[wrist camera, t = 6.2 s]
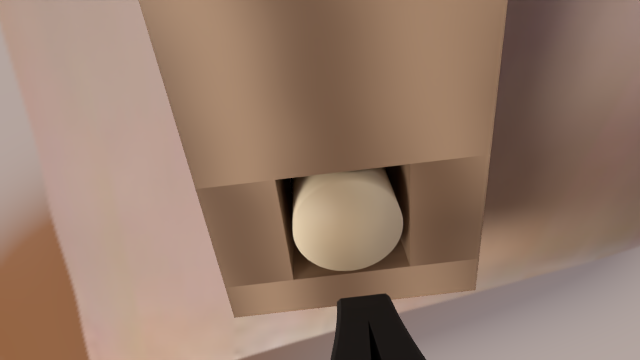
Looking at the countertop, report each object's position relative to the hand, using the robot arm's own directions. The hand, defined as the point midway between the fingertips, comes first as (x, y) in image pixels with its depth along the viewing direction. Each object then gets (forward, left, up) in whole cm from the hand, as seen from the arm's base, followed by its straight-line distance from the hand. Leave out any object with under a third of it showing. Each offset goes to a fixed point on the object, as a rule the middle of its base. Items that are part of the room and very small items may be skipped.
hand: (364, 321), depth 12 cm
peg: (0, 0, -9) cm, 9 cm away
